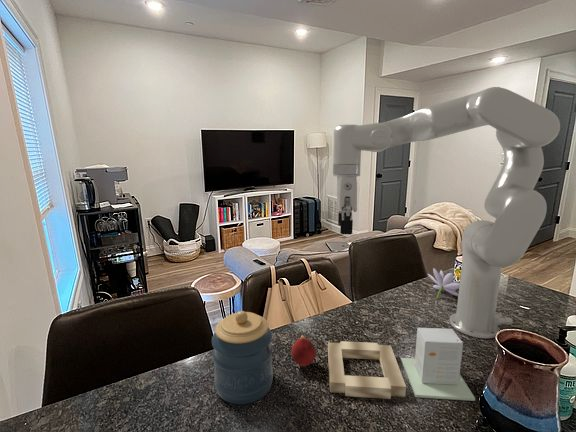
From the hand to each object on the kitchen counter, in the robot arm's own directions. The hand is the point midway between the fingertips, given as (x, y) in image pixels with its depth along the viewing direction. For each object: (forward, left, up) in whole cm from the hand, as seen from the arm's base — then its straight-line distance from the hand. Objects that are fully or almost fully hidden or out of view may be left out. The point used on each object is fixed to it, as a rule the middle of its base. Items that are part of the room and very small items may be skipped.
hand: (344, 229), depth 92 cm
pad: (-19, +25, -28) cm, 42 cm away
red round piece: (+11, +23, -28) cm, 38 cm away
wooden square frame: (-3, +24, -28) cm, 37 cm away
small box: (-19, +25, -28) cm, 42 cm away
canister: (+24, +30, -29) cm, 48 cm away
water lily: (-38, -18, -29) cm, 51 cm away
